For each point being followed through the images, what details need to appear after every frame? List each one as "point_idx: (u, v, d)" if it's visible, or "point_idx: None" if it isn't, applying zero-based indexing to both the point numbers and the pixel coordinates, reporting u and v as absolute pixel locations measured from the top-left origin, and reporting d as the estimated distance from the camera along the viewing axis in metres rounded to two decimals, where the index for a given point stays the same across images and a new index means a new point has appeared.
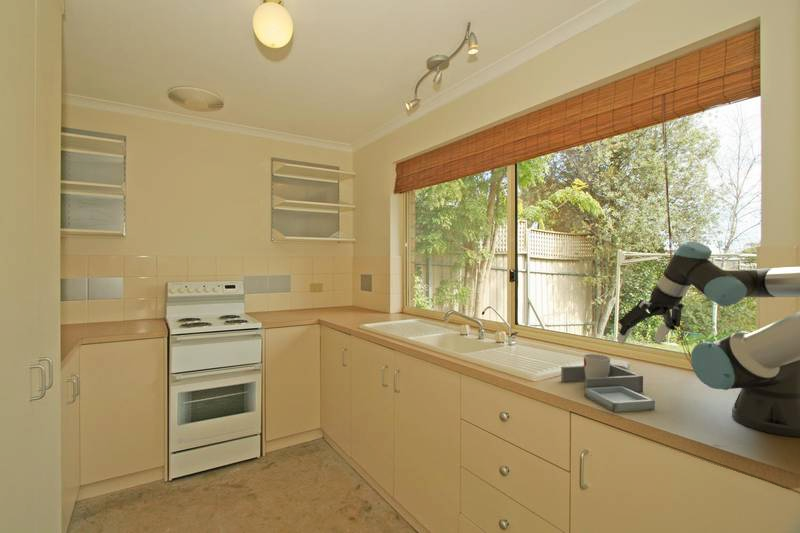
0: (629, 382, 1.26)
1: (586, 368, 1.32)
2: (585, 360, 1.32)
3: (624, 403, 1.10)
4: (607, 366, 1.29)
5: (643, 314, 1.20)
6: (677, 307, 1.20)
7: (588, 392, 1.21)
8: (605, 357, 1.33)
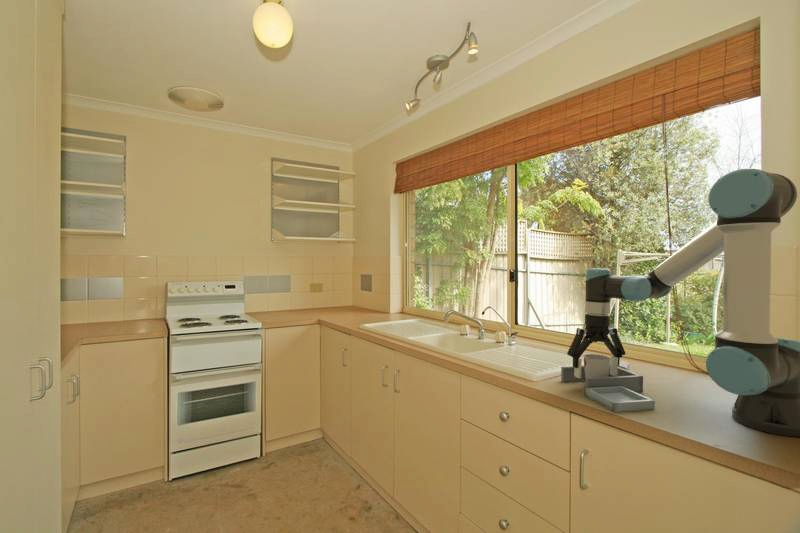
0: (629, 382, 1.26)
1: (586, 368, 1.32)
2: (585, 360, 1.32)
3: (624, 403, 1.10)
4: (607, 366, 1.29)
5: (585, 342, 1.31)
6: (612, 332, 1.32)
7: (588, 392, 1.21)
8: (605, 357, 1.33)
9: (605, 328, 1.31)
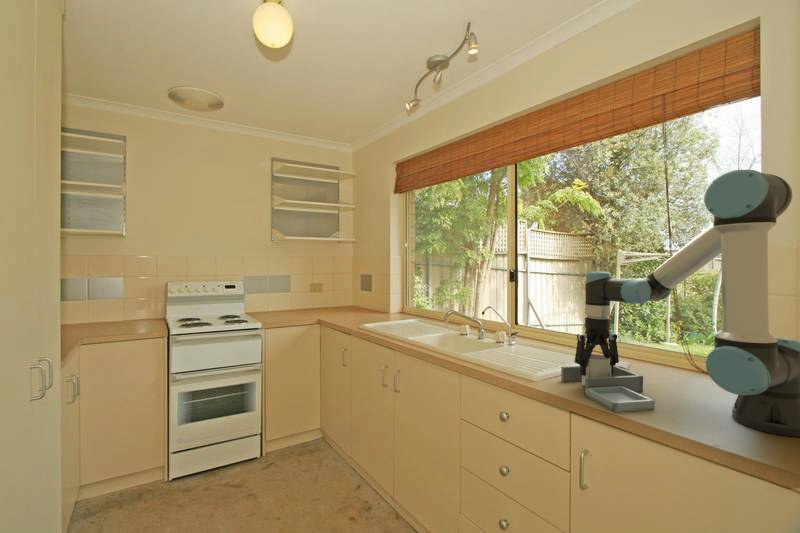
0: (629, 382, 1.26)
1: None
2: None
3: (624, 403, 1.10)
4: (607, 366, 1.29)
5: (588, 347, 1.31)
6: (612, 337, 1.32)
7: (588, 392, 1.21)
8: None
9: (606, 331, 1.31)
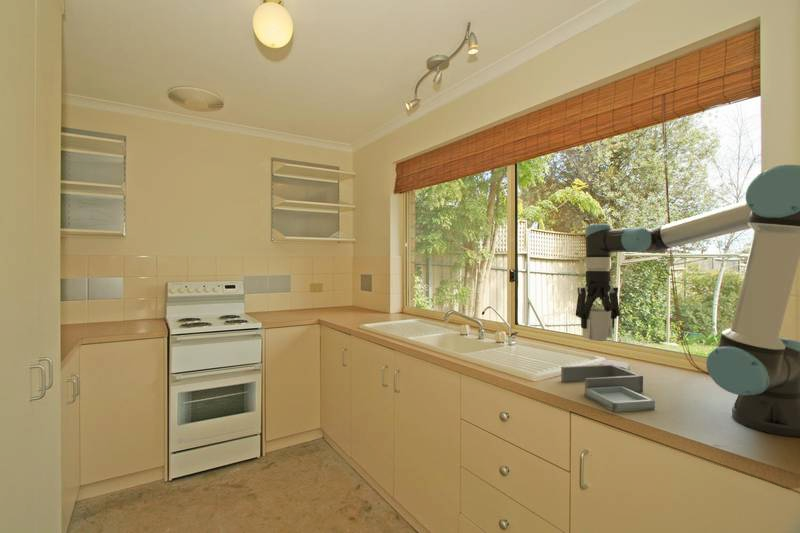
0: (629, 382, 1.26)
1: None
2: None
3: (624, 403, 1.10)
4: (608, 318, 1.28)
5: (589, 300, 1.31)
6: (613, 290, 1.32)
7: (588, 392, 1.21)
8: (606, 311, 1.33)
9: (607, 283, 1.31)
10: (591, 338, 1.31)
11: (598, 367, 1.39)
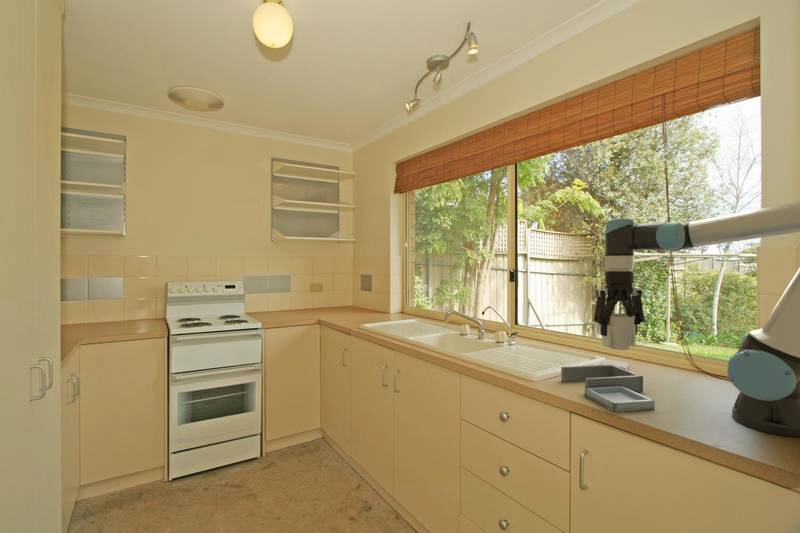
0: (629, 382, 1.26)
1: None
2: None
3: (624, 403, 1.10)
4: (631, 324, 1.14)
5: (609, 304, 1.16)
6: (636, 293, 1.17)
7: (588, 392, 1.21)
8: (628, 316, 1.19)
9: (629, 285, 1.17)
10: (612, 346, 1.17)
11: (598, 367, 1.39)
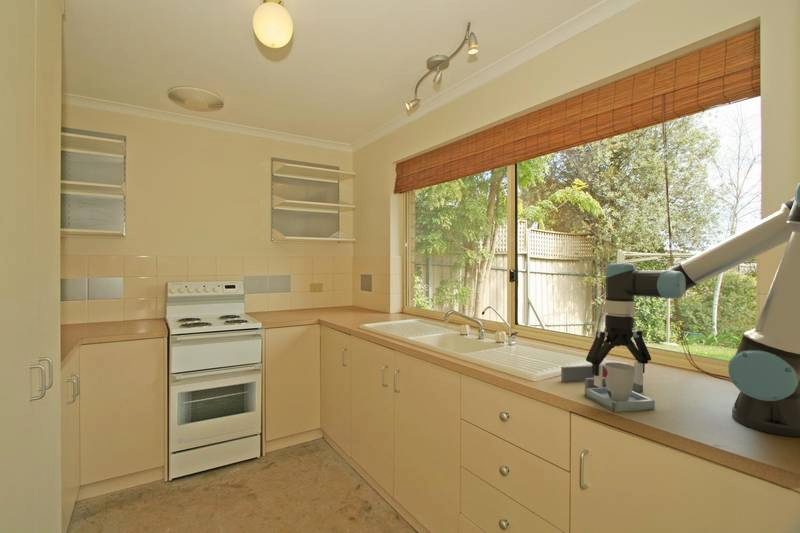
0: None
1: (607, 379, 1.17)
2: (606, 369, 1.17)
3: (624, 403, 1.10)
4: (632, 377, 1.14)
5: (606, 346, 1.16)
6: (637, 335, 1.17)
7: (588, 392, 1.21)
8: (628, 366, 1.18)
9: (628, 330, 1.16)
10: (612, 398, 1.16)
11: None
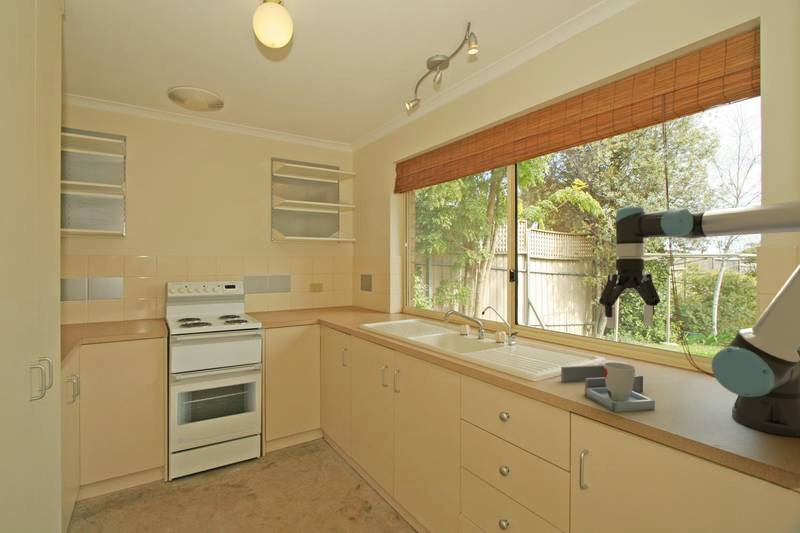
0: None
1: (607, 379, 1.17)
2: (606, 369, 1.17)
3: (624, 403, 1.10)
4: (632, 376, 1.14)
5: (618, 288, 1.19)
6: (646, 278, 1.20)
7: (588, 392, 1.21)
8: (628, 366, 1.18)
9: (639, 273, 1.19)
10: (612, 398, 1.16)
11: (598, 367, 1.39)
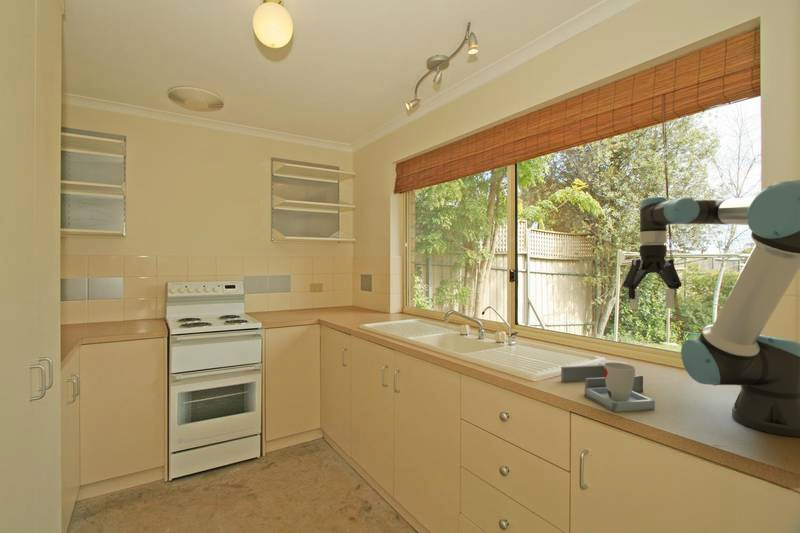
0: None
1: (607, 379, 1.17)
2: (606, 369, 1.17)
3: (624, 403, 1.10)
4: (632, 377, 1.14)
5: (641, 272, 1.28)
6: (669, 263, 1.30)
7: (588, 392, 1.21)
8: (628, 366, 1.18)
9: (661, 259, 1.29)
10: (612, 398, 1.16)
11: (598, 367, 1.39)
